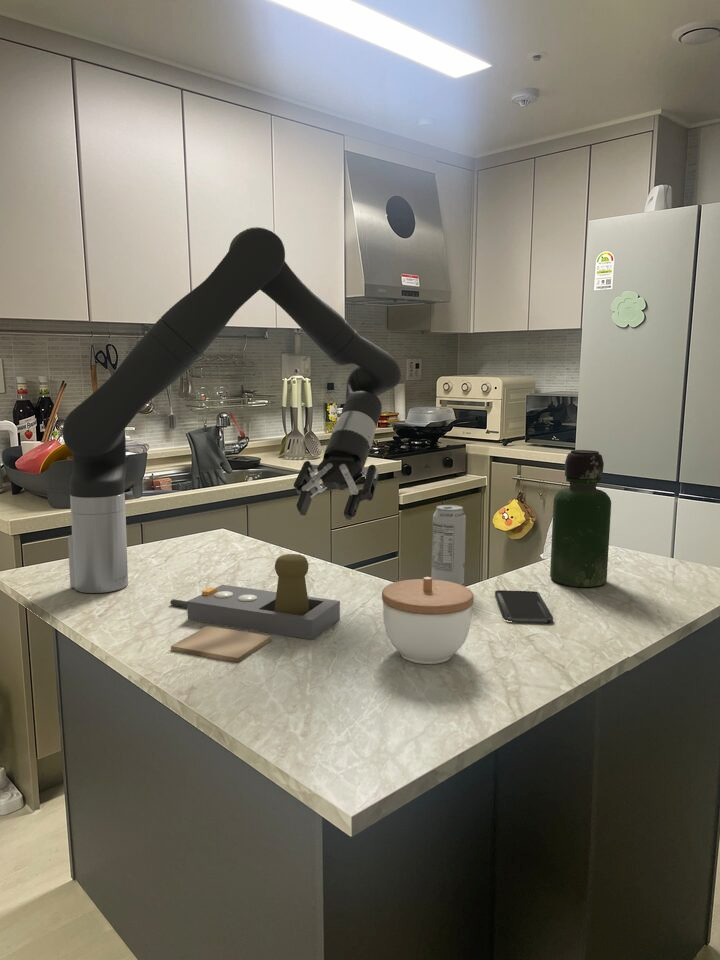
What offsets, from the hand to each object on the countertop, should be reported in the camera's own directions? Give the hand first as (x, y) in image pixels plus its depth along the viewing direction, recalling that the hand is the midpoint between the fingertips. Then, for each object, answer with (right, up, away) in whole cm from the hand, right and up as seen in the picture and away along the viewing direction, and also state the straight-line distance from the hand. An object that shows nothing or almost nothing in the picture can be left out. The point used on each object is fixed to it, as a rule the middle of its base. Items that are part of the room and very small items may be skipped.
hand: (323, 515), depth 120 cm
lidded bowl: (+15, -19, -20) cm, 32 cm away
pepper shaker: (-5, -17, -8) cm, 19 cm away
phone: (+34, -16, 0) cm, 37 cm away
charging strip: (-12, -16, -5) cm, 21 cm away
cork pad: (-14, -18, -18) cm, 29 cm away
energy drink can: (+22, -14, +12) cm, 29 cm away
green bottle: (+48, -14, +17) cm, 53 cm away
